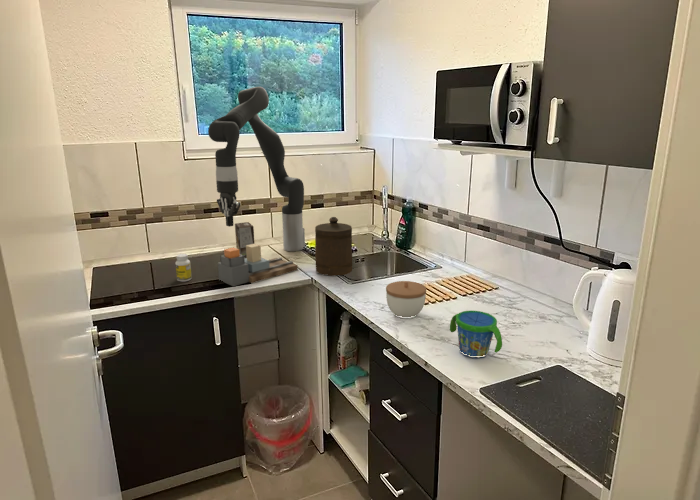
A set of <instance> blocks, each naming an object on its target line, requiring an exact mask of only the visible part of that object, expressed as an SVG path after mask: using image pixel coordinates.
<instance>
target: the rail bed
mask: <svg viewBox="0 0 700 500" xmlns="http://www.w3.org/2000/svg"><path fill="white" fill-rule="evenodd" d="M268 260H269V265H270V268H267V269H263V270H260V271H256V272H250V271H249V282H248V283H250V284H253V283H259V282H260V281H264V280H268V279H271V278H274V277H277V276H280V275H286V274H288V273H291V272H294V271H297V270H299V269H298V268H299V267H298V264H296V263H294V262H293V261H292V260H290V261H288V260H284V259H283V257H275V258H271V259H268Z"/></svg>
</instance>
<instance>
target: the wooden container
mask: <svg viewBox="0 0 700 500" xmlns="http://www.w3.org/2000/svg"><path fill="white" fill-rule="evenodd" d="M328 221H329V222H326V223H325V222H324V223H320V224H318V225H316V226H315V227H314V232H315V234H314V235H315V242H314V245H315V247H314V248H315V249H314V250H315V253H314V255H315V256H314V258H315V272H316V273H317V274H320V275H322V276H326V277H327V276H330V277H337V276H336V275H340V276H345V275H348V274H350V273H351V272H353V240H352V239H353V238H352V237H353V228H352V225H351V224H347V223H341V222H339V219H338V218H337V217H335V216H331V217H330V218H329V220H328Z"/></svg>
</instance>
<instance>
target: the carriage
mask: <svg viewBox="0 0 700 500" xmlns="http://www.w3.org/2000/svg"><path fill="white" fill-rule="evenodd" d="M261 247H262V246H261V245H260V244H257V243H254V244H250V245H246V255H247V258H245V259H244V260H245V263H246V264H248V271H250V272H256V271H260V270H263V269H267V268H270V265H269V260H270V259H266V258H263V257H262V250H261Z"/></svg>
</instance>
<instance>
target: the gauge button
mask: <svg viewBox="0 0 700 500" xmlns="http://www.w3.org/2000/svg"><path fill="white" fill-rule="evenodd" d="M223 251H224V252H223V253H224V254H223V255H225V257H227V258H234V257H238V256H240V253H239V249H237V247H230V248H225V249H224V250H223Z"/></svg>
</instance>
